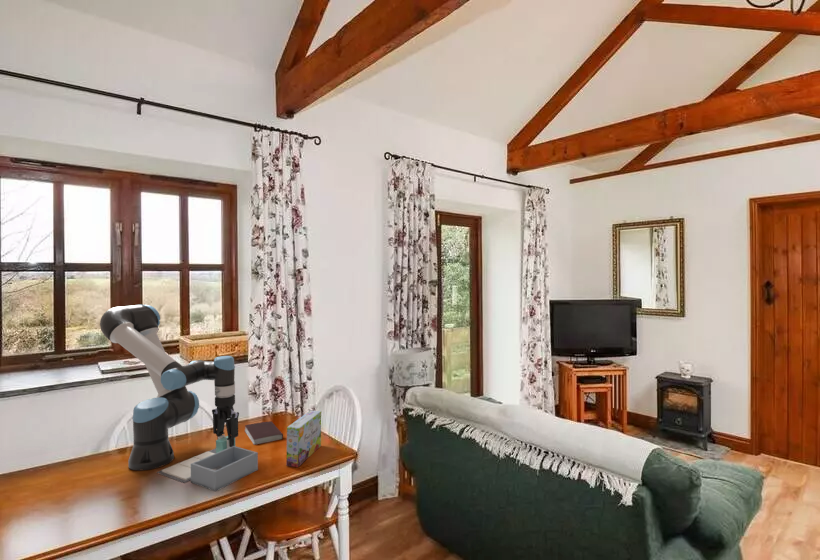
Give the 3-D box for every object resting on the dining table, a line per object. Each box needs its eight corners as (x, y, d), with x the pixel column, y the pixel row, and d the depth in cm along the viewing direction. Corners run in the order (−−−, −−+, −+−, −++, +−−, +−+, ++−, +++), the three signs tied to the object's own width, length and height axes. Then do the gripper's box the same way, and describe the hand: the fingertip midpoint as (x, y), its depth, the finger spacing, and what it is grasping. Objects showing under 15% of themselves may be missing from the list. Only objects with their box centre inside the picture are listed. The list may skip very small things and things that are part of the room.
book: (272, 426, 208) (272, 420, 208) (283, 440, 192) (283, 432, 192) (244, 432, 202) (244, 425, 202) (253, 446, 185) (253, 438, 185)
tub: (190, 482, 152) (190, 463, 152) (234, 462, 168) (233, 445, 168) (215, 491, 146) (215, 472, 146) (257, 469, 162) (257, 452, 162)
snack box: (299, 468, 164) (299, 428, 163) (285, 466, 165) (285, 426, 164) (322, 445, 184) (321, 410, 184) (309, 444, 185) (309, 409, 185)
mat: (156, 473, 160) (156, 472, 160) (218, 447, 182) (218, 447, 182) (184, 483, 152) (184, 482, 152) (245, 455, 175) (245, 454, 175)
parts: (201, 478, 154) (200, 472, 154) (233, 463, 166) (233, 458, 166) (218, 484, 149) (218, 478, 149) (250, 468, 161) (250, 463, 161)
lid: (161, 471, 160) (161, 455, 160) (220, 447, 182) (220, 433, 182) (185, 480, 153) (185, 463, 153) (243, 454, 175) (243, 439, 175)
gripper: (202, 394, 176) (203, 452, 177) (231, 400, 168) (233, 460, 168) (218, 390, 183) (219, 445, 183) (247, 395, 174) (248, 453, 175)
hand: (226, 452), depth 176 cm, fingers open, 5 cm apart
